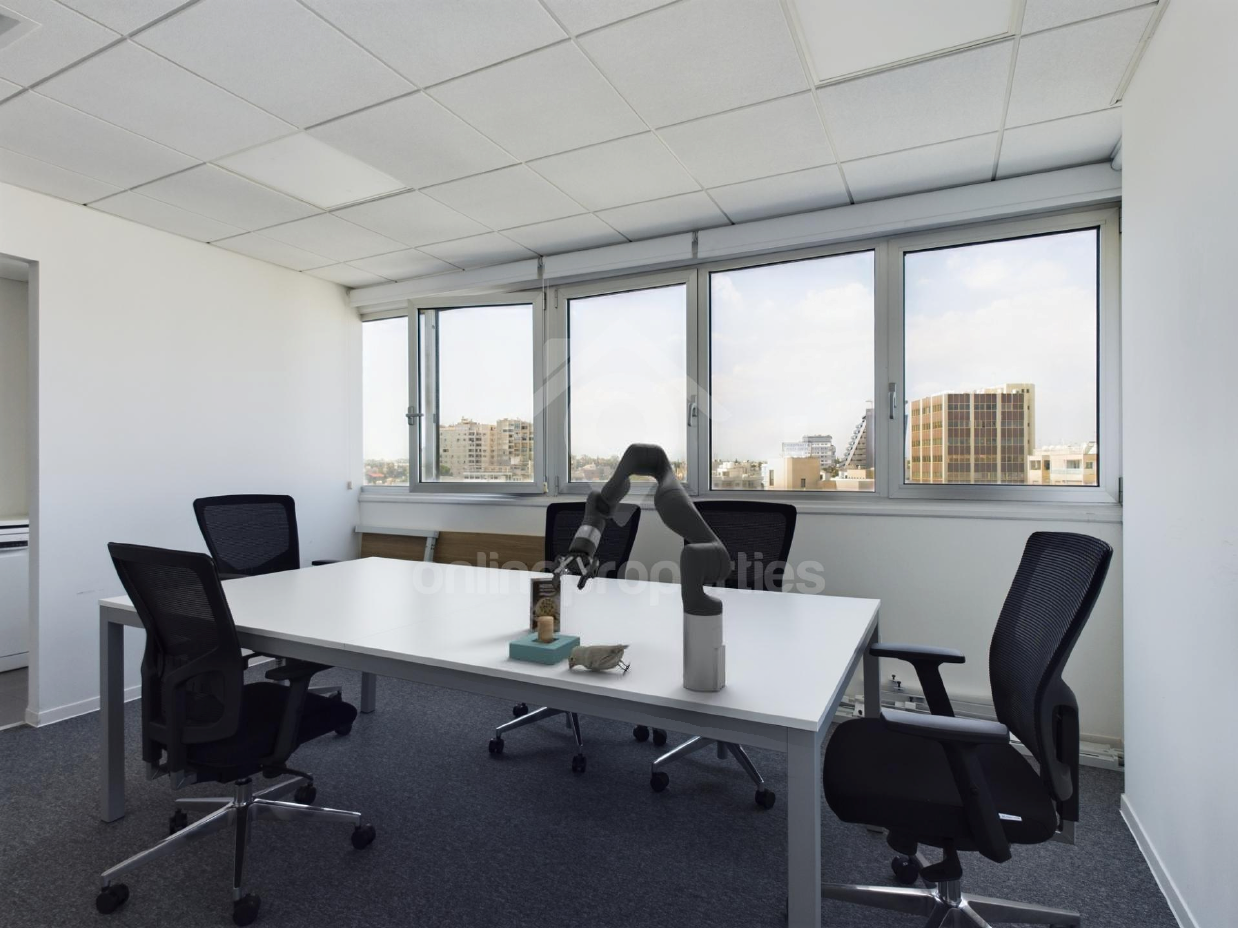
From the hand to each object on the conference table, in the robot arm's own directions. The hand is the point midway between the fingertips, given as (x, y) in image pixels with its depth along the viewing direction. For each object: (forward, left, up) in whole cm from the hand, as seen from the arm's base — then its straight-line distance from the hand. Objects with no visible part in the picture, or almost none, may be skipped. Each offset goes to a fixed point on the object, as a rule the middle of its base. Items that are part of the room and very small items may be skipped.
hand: (566, 587), depth 188 cm
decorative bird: (-20, +18, -17) cm, 32 cm away
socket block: (0, +11, -17) cm, 20 cm away
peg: (0, +11, -17) cm, 20 cm away
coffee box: (+15, -13, -17) cm, 26 cm away
